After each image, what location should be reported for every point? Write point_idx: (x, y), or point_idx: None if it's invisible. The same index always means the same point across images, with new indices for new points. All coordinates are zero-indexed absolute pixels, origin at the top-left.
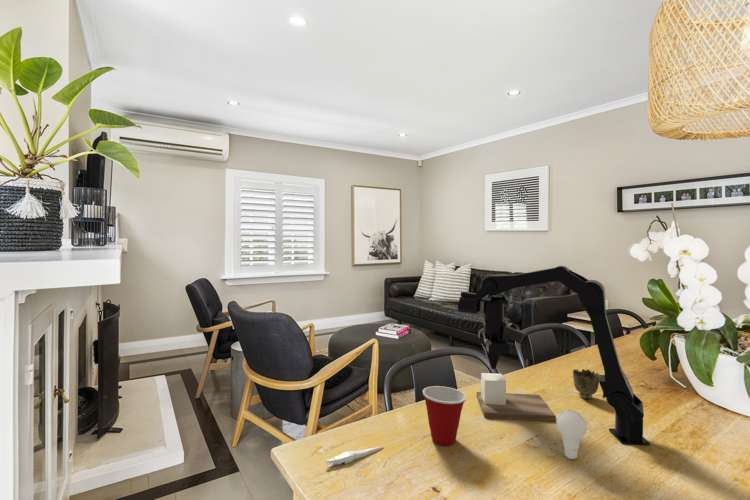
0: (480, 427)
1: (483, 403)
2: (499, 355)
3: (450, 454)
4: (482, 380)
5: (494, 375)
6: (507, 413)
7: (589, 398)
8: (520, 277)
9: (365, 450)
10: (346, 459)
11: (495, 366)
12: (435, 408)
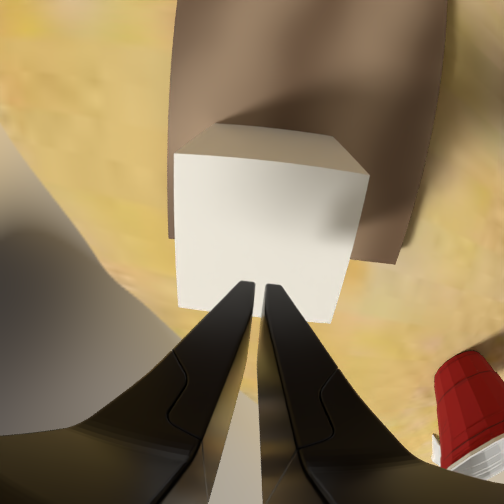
0: (444, 283)
1: None
2: (384, 427)
3: (501, 358)
4: None
5: (225, 227)
6: (422, 169)
7: None
8: None
9: (436, 448)
10: None
11: (290, 307)
12: (500, 449)
